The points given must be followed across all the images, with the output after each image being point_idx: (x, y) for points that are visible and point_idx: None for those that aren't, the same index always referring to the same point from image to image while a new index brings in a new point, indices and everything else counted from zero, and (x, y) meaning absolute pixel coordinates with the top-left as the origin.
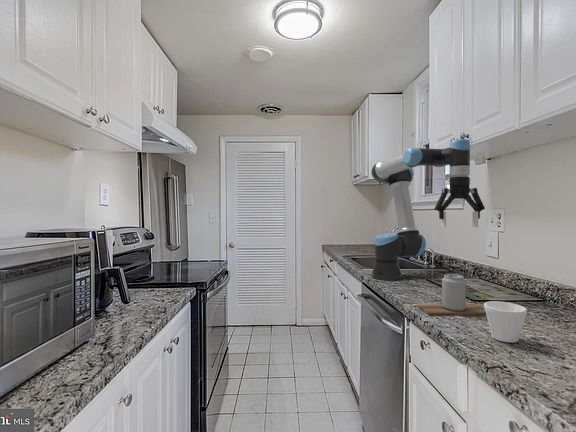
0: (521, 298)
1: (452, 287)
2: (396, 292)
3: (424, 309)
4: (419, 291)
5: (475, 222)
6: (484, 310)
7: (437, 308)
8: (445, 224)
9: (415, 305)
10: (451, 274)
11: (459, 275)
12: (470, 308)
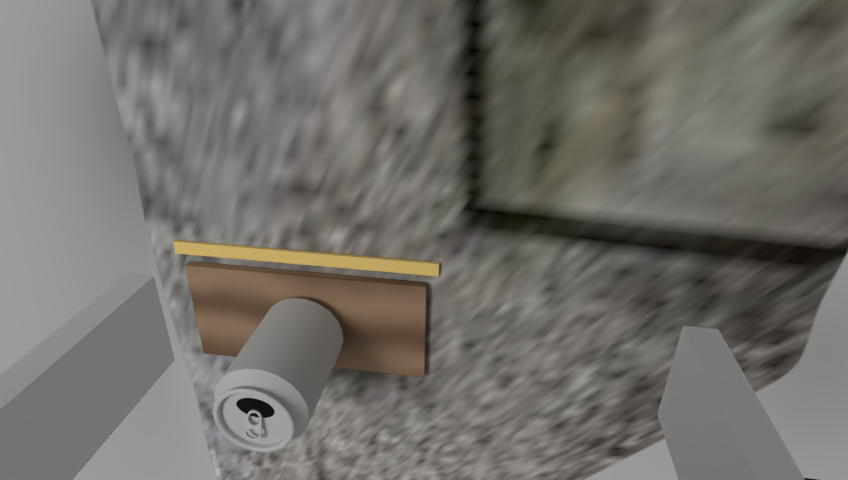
0: (755, 210)
1: (250, 415)
2: (135, 23)
3: (198, 319)
4: (270, 11)
5: (684, 457)
6: (408, 357)
7: (248, 316)
8: (141, 387)
9: (185, 253)
10: (256, 395)
11: (285, 416)
12: (370, 333)
